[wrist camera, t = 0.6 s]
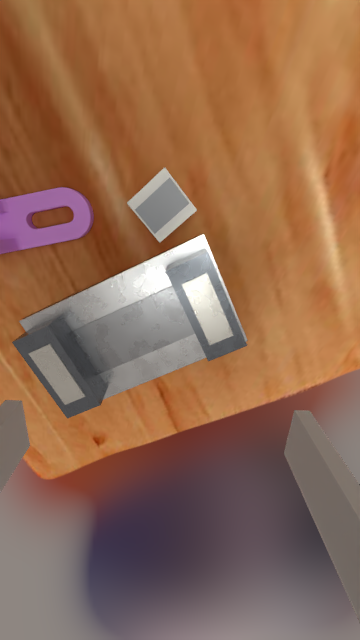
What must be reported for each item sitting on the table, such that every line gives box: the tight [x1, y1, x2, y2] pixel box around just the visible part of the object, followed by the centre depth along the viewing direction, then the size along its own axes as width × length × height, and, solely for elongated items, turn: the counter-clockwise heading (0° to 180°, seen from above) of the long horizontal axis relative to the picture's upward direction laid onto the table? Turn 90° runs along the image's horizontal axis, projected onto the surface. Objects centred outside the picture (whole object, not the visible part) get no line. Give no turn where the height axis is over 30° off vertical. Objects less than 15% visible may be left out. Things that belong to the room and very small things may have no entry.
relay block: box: [127, 167, 197, 243], centre depth 31 cm, size 5×5×5 cm
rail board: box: [12, 234, 248, 418], centre depth 36 cm, size 15×26×5 cm, turn 115°
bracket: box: [0, 187, 94, 254], centre depth 30 cm, size 13×6×7 cm, turn 101°
